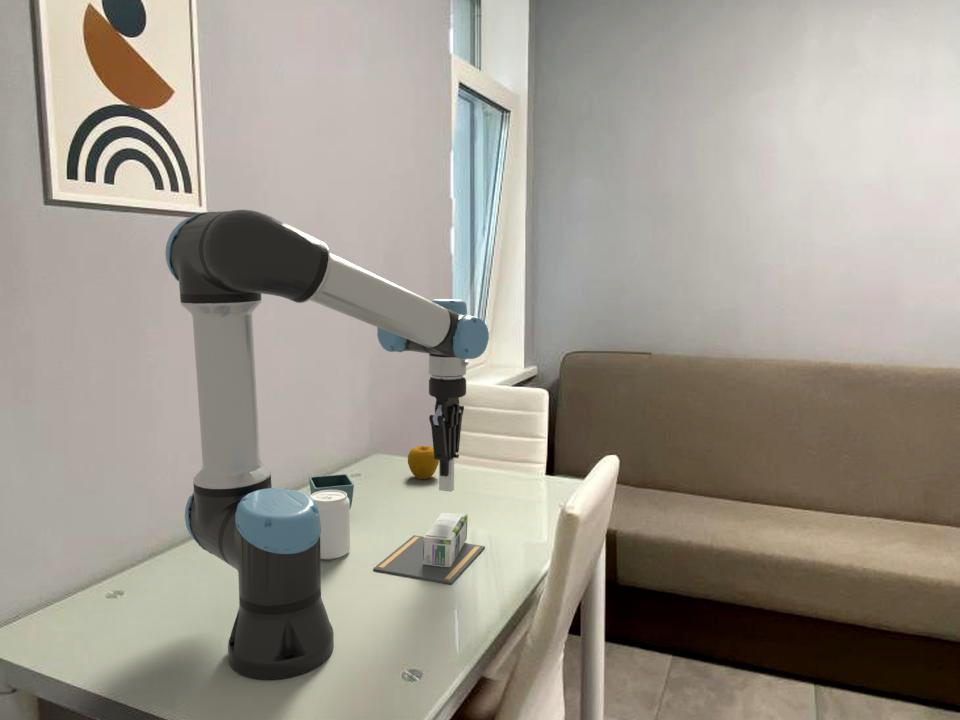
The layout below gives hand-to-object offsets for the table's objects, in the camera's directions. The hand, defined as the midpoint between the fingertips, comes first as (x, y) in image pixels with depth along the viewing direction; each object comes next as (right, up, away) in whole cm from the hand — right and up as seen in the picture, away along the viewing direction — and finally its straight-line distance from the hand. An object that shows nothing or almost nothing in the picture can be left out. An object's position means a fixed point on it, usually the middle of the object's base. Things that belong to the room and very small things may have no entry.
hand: (446, 489), depth 145 cm
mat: (-3, -13, -6) cm, 14 cm away
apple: (-9, -6, +48) cm, 49 cm away
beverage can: (-23, -12, -4) cm, 26 cm away
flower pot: (-27, -10, +16) cm, 33 cm away
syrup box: (+1, -8, +4) cm, 9 cm away
